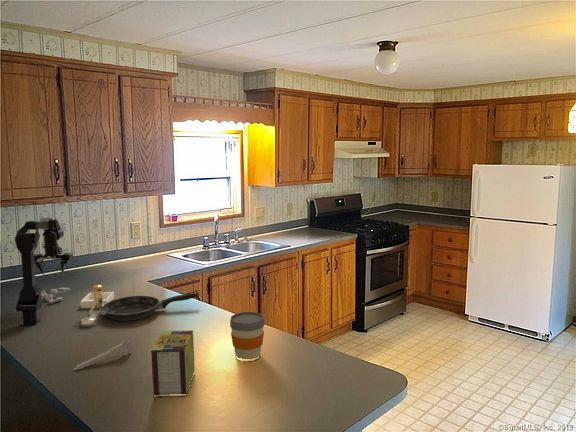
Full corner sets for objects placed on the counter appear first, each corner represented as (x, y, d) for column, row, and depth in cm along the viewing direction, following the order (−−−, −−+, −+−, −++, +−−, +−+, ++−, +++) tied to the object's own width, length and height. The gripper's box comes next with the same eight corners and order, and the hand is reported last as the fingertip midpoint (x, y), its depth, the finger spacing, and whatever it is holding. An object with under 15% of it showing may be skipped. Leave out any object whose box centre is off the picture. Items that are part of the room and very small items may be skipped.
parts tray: (106, 307, 225) (106, 300, 224) (80, 308, 223) (80, 301, 223) (114, 298, 238) (113, 291, 238) (90, 299, 237) (89, 292, 237)
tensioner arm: (95, 326, 200) (94, 321, 200) (78, 327, 200) (78, 321, 199) (108, 309, 221) (108, 304, 221) (93, 310, 221) (93, 305, 220)
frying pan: (100, 327, 200) (99, 312, 199) (105, 308, 224) (104, 295, 223) (202, 316, 213) (202, 302, 212) (196, 299, 237) (196, 286, 236)
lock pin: (102, 314, 216) (100, 287, 214) (93, 314, 215) (91, 287, 214) (104, 311, 220) (103, 284, 218) (96, 311, 219) (94, 284, 218)
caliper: (130, 353, 174) (129, 337, 173) (131, 354, 173) (130, 338, 173) (73, 370, 161) (71, 353, 160) (74, 371, 160) (72, 354, 159)
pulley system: (27, 308, 227) (61, 304, 231) (26, 299, 226) (60, 294, 230) (41, 294, 253) (71, 290, 257) (40, 285, 253) (70, 281, 256)
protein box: (195, 373, 158) (193, 329, 156) (186, 397, 143) (185, 349, 141) (164, 373, 158) (162, 330, 156) (152, 397, 143) (150, 350, 140)
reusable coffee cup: (233, 366, 163) (232, 325, 161) (228, 351, 175) (227, 313, 173) (268, 361, 166) (267, 321, 164) (261, 347, 178) (260, 310, 176)
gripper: (75, 239, 238) (78, 269, 240) (37, 240, 236) (40, 270, 238) (68, 243, 227) (70, 274, 229) (27, 244, 225) (30, 276, 227)
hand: (53, 273), depth 231 cm, fingers open, 9 cm apart
